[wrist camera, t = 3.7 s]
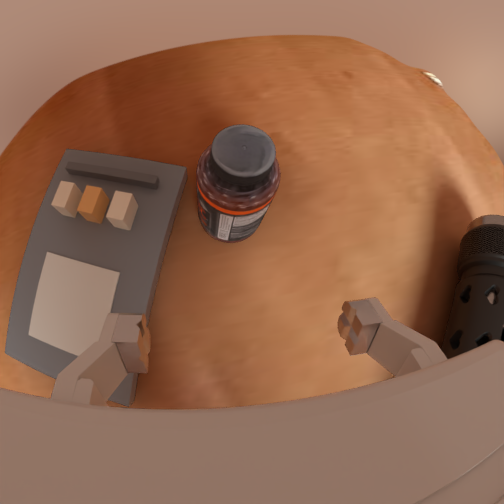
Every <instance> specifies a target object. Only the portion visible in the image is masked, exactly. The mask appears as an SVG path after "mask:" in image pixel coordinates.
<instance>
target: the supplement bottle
mask: <svg viewBox="0 0 504 504" xmlns="http://www.w3.org/2000/svg"><path fill="white" fill-rule="evenodd" d="M275 156H276V151H275V145H274V143H273V141H272V139H271V138H270V137H269V136H268V135H267V134H266V133H265V132H263V131H262V130H260V129H258V128H256V127H253V126H250V125H233V126H229V127H227V128H225V129H223V130H222V131H220V132H219V133H218V134H217V135H216V137H215V138H214V140H213V142H212V144H211V145H210V146H209V147H208V148H207V149H206V150H205V151H204V152H203V153H202V155H201V157H200V159H199V161H198V165H197V171H196V182H197V198H198V214H199V219H200V222H201V224H202V226H203V228H204V229H205V231H206V232H207V233H208V234H209V235H210V236H211V237H213V238H214V239H216V240H219V241H222V242H227V243H235V242H239V241H242V240H245V239H247V238H248V237H250V236H251V235H252V234H253V233H254V232H255V231H256V229H257V228H258V226H259V225H260V223H261V221H262V219H263V217H264V215H265V213H266V211H267V209H268V207H269V206H270V204H271V202H272V200H273V198H274V196H275V194H276V191H277V189H278V186H279V183H280V177H281V173H280V167H279V163H278V161H277V159H276V157H275Z"/></svg>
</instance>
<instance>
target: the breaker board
mask: <svg viewBox="0 0 504 504" xmlns="http://www.w3.org/2000/svg"><path fill="white" fill-rule="evenodd" d="M186 180H187V167H183V166H178V165H173V164H167V163H162V162H156V161H150V160H144V159H138V158H132V157H126V156H119V155H112V154H105V153H98V152H90V151H82V150H73V149H66V151H65V153H64V155H63V157H62V159H61V161H60V163H59V165H58V167H57V169H56V171H55V174H54V176H53V178H52V180H51V182H50V185H49V187H48V189H47V192H46V194H45V197H44V199H43V202H42V204H41V207H40V209H39V212H38V215H37V217H36V220H35V223H34V226H33V228H32V231H31V234H30V237H29V241H28V244H27V247H26V250H25V254H24V257H23V261H22V264H21V268H20V272H19V276H18V280H17V284H16V288H15V293H14V297H13V302H12V307H11V313H10V319H9V325H8V331H7V339H6V347H5V353H6V354H7V355H9V356H11V357H13V358H14V359H16V360H18V361H20V362H22V363H24V364H26V365H28V366H30V367H31V368H33V369H35V370H37V371H40V372H42V373H44V374H46V375H48V376H50V377H52V378H54V379H57V376H58V374H59V373H60V372H61V371H62V370H64V369H65V368H66V367H67V366H68V365H69V364H70V363H71V362H73V361H74V360H75V359H76V358H77V357H78V356H79V355H81V354H82V353H83V352H84V351H85V350H86V349H88V348H89V347H90V346H91V345H92V344H93V343H95V342H99V338H100V335H101V332H102V329H103V325H104V322H105V319H106V316H107V314H108V313H144V314H145V317H146V320H147V322H146V327H147V326H148V322H149V317H150V312H151V308H152V304H153V299H154V295H155V291H156V286H157V282H158V278H159V274H160V270H161V266H162V262H163V259H164V255H165V251H166V247H167V244H168V240H169V237H170V233H171V229H172V226H173V223H174V219H175V216H176V212H177V209H178V206H179V203H180V199H181V196H182V193H183V190H184V187H185V184H186ZM138 374H139V373H127V376H126V377H125V378H124V379H123V381H122V382H121V383H120V384H119V386H118V387H117V388H116V389H115V391H114V392H113V393H112V395H111V396H110V397H109V398H108V400H110V401H113V402H116V403H119V404H122V405H125V406H128V407H129V406H130V405H131V404H132V403H133V402H134V399H135V392H136V386H137V380H138Z"/></svg>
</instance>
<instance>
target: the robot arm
mask: <svg viewBox="0 0 504 504" xmlns="http://www.w3.org/2000/svg"><path fill="white" fill-rule="evenodd" d="M342 310H343V313H342V314H341V315H340V316H339V319H338V331H339V334H340V336H341V337H342V338H343V339H345V340H346V342H345V346H346V348H347V350H348V352H349V354H350V356H351V355H357V354H363V353H367V354H368V355H369V356H371V357H372V358H373V359H374V360H376V361H377V362H378V363H379V364H381V365H382V366H383V367H385V368H386V369H387V370H388V371H390V372H391V373H392V374H393V375H395V376H396V377H395V378H391V379H388V380H384V381H381V382H377V383H373V384H369V385H365V386H361V387H357V388H353V389H349V390H344V391H340V392H335V393H330V394H325V395H320V396H315V397H309V398H303V399H297V400H291V401H284V402H277V403H269V404H260V405H250V406H240V407H226V408H209V409H139V408H122V407H109V406H108V405H107V403H106V401H107V400H108V398H109V397H110V396H111V395H112V393H113V392H114V391H115V389H116V388H117V387H118V386H119V384H120V383H121V382H122V381H123V379H124V378H125V377H126V376H127V373H148V365H149V358H148V355H147V354H148V353H149V352H150V347H151V338H150V332H149V329H148V328H147V327H146V322H147V320H146V317H145V314H144V313H108V314H107V316H106V319H105V322H104V325H103V329H102V332H101V335H100V338H99V342H95V343H93V344H92V345H91V346H90V347H89V348H88V349H86V350H85V351H84V352H83V353H82V354H81V355H79V356H78V357H77V358H76V359H75V360H74V361H73V362H71V363H70V364H69V365H68V366H67V367H66V368H65V369H64V370H62V371H61V372H60V373H59V374H58V376H57V379H56V382H55V385H54V388H53V392H52V395H51V399H50V398H44V397H39V396H34V395H29V394H25V393H21V392H16V391H12V390H8V389H4V388H1V387H0V504H504V342H503V341H500V340H492V341H490V342H488V343H486V344H483V345H481V346H479V347H477V348H474V349H472V350H470V351H468V352H465V353H463V354H460V355H458V356H455V357H453V358H450V359H447V358H446V356H445V355H444V353H443V352H442V350H441V349H440V348H439V346H438V345H437V343H436V342H434V341H433V340H431V339H429V338H427V337H425V336H424V335H422V334H420V333H418V332H416V331H415V330H413V329H411V328H409V327H407V326H405V325H404V324H402V323H400V322H398V321H396V320H394V321H393V320H392V318H391V317H390V316H389V314H388V313H387V311H386V310H385V308H384V307H383V306H382V304H381V303H380V301H379V300H378V299H377V298H375V297H374V298H367V299H360V300H352V301H345V302H344V303H343V306H342Z"/></svg>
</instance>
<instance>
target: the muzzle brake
mask: <svg viewBox="0 0 504 504" xmlns="http://www.w3.org/2000/svg"><path fill="white" fill-rule="evenodd" d="M457 273H458V277H459V280H460V282H459V283H458V284H457V286H456V289H455V294H454V301H453V306H452V310H451V313H450V317H449V321H448V325H447V329H446V333H445V338H444V341H443V345H442V349H441V350H442V352H443V353H444V355H445V356H446V358H447V359H450V358H453V357H455V356H458V355H460V354H463V353H465V352H468V351H470V350H472V349H474V348H477V347H479V346H481V345H483V344H486V343H488V342H490V341H492V340H500V341H503V342H504V216H500V215H485V216H481V217H478V218H476V219H475V220H473V221H472V222H471V223H470V224H469V226H468V228H467V233H466V234H465V235H464V237H463V238H462V240H461V244H460V251H459V258H458V265H457Z"/></svg>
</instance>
